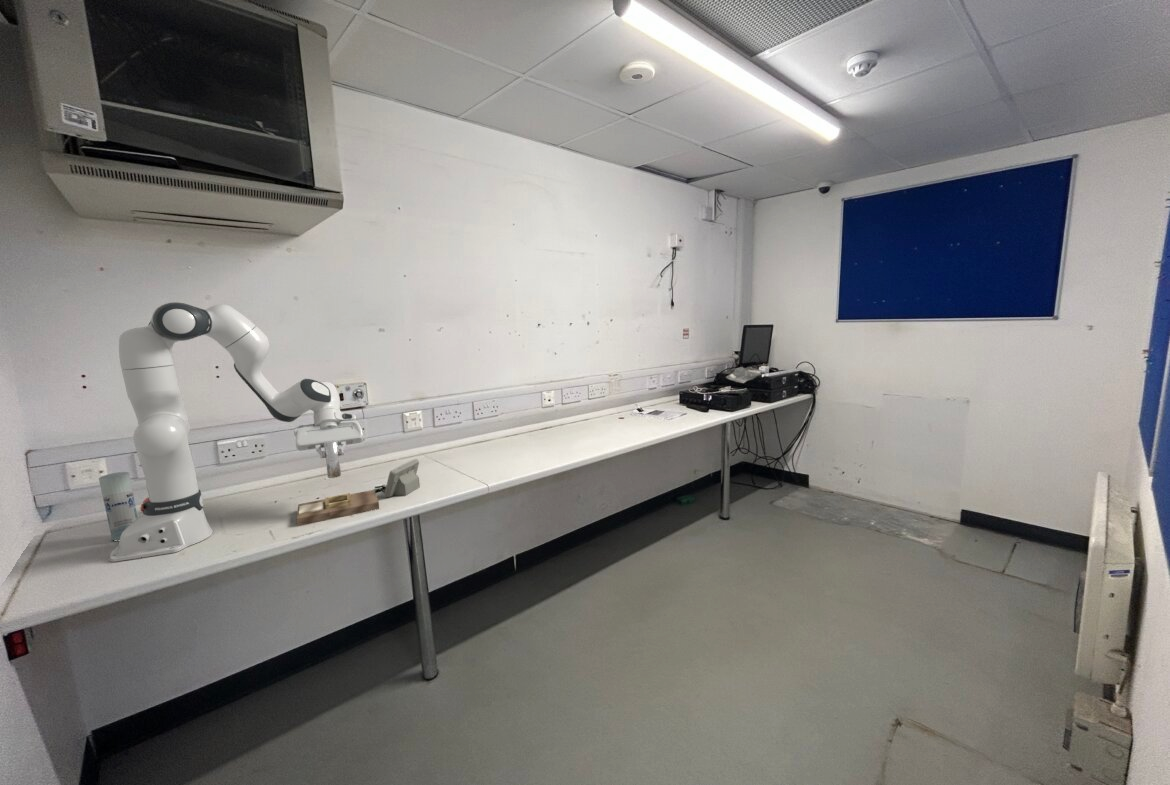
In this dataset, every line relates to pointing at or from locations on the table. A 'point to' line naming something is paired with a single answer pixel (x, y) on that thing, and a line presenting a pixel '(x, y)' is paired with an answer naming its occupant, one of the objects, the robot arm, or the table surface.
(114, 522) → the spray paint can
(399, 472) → the digital clock
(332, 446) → the steel pin
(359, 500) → the wooden peg board
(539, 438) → the table surface
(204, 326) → the robot arm
